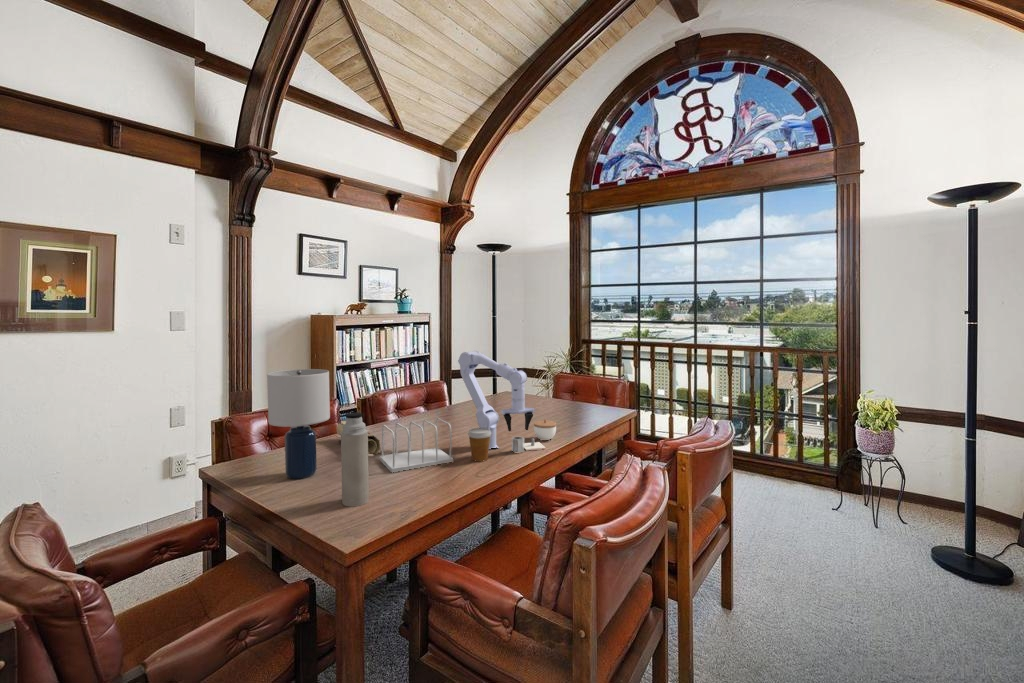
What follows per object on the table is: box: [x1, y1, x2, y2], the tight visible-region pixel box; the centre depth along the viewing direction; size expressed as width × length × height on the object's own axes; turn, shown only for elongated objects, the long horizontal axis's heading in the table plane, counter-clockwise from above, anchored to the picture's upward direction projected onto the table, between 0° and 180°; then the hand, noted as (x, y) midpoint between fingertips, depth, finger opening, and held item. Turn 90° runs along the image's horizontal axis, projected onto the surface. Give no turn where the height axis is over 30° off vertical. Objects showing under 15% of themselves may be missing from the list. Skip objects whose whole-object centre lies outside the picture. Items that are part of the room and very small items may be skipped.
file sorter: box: [379, 417, 454, 474], centre depth 181 cm, size 25×17×16 cm
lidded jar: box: [533, 419, 557, 440], centre depth 215 cm, size 11×11×9 cm
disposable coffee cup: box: [467, 427, 491, 462], centre depth 184 cm, size 10×10×12 cm
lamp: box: [266, 368, 331, 480], centre depth 165 cm, size 20×20×39 cm
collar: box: [511, 435, 525, 453], centre depth 195 cm, size 5×5×6 cm
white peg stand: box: [524, 438, 547, 450], centre depth 201 cm, size 9×9×4 cm
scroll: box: [334, 420, 382, 455], centre depth 200 cm, size 11×34×10 cm, turn 37°
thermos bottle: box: [340, 412, 370, 507], centre depth 142 cm, size 8×8×28 cm
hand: (518, 430), depth 194 cm, fingers open, 7 cm apart
